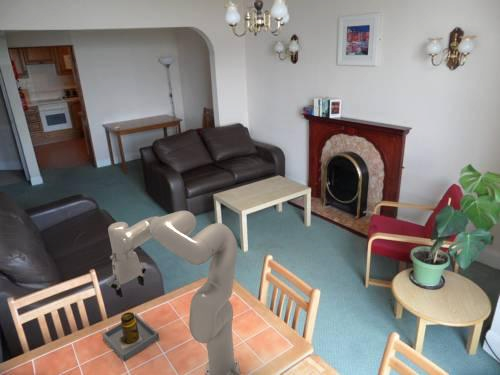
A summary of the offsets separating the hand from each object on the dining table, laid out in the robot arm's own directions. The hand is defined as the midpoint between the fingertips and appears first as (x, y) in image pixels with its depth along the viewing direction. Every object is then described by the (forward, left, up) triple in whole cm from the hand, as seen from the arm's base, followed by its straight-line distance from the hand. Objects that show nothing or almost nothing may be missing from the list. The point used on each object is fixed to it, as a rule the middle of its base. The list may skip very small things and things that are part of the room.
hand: (130, 289), depth 150 cm
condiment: (+1, +4, -23) cm, 24 cm away
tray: (+1, +4, -24) cm, 24 cm away
